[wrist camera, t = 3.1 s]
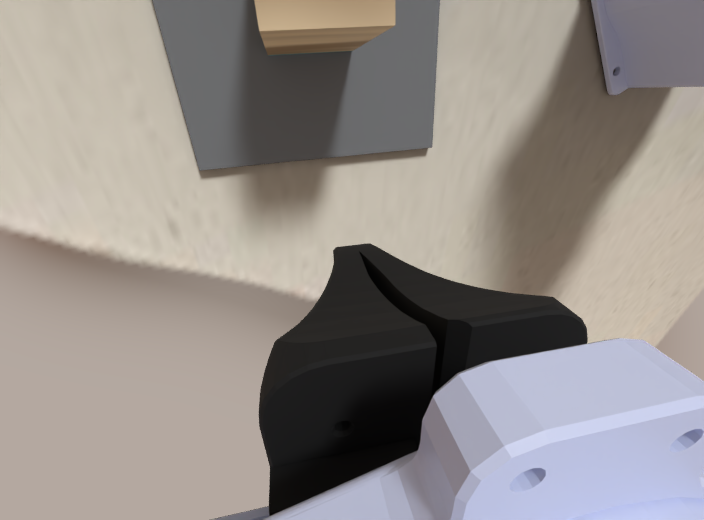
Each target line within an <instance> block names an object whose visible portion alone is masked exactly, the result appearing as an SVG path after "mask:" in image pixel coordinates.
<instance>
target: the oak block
mask: <svg viewBox="0 0 704 520" xmlns="http://www.w3.org/2000/svg"><path fill="white" fill-rule="evenodd" d="M254 1H255V7H256V14H257V20H258V26H259V32H260V34H261V37H262V40H263V43H264V46H265V49H266V52H267V54H268V56H273V55H292V54H311V53H330V52H349V51H353V50H355V49H357V48H358V47H360V46H362V45H363V44H365V43H367V42H368V41H370V40H372V39H373V38H375V37H377V36H379V35H380V34H382V33H384V32H385V31H387V30H389V29H390V28H392V27H394V26H395V0H254Z"/></svg>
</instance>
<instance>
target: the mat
mask: <svg viewBox="0 0 704 520" xmlns="http://www.w3.org/2000/svg"><path fill="white" fill-rule="evenodd" d="M152 1H153V5H154V8H155V12H156V15H157V19H158V23H159V26H160V30H161V34H162V37H163V41H164V44H165V48H166V52H167V55H168V59H169V62H170V66H171V70H172V73H173V77H174V80H175V84H176V88H177V91H178V95H179V98H180V102H181V106H182V109H183V113H184V116H185V120H186V124H187V127H188V131H189V135H190V138H191V142H192V145H193V149H194V153H195V156H196V160H197V163H198V167H199V170H209V169H219V168H229V167H239V166H250V165H260V164H270V163H280V162H290V161H300V160H310V159H321V158H331V157H341V156H351V155H361V154H371V153H381V152H391V151H402V150H412V149H422V148H432V140H433V121H434V102H435V83H436V63H437V44H438V25H439V6H440V0H395V26H394V27H392V28H390V29H389V30H387V31H385V32H384V33H382V34H380V35H379V36H377V37H375V38H373V39H372V40H370V41H368V42H367V43H365V44H363V45H362V46H360V47H358V48H357V49H355V50H353V51H349V52H330V53H311V54H292V55H273V56H268V54H267V52H266V49H265V46H264V43H263V40H262V37H261V34H260V32H259V26H258V20H257V14H256V7H255V1H254V0H152Z"/></svg>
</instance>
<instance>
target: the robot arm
mask: <svg viewBox="0 0 704 520" xmlns="http://www.w3.org/2000/svg"><path fill="white" fill-rule="evenodd" d="M591 3H592V8H593V14H594V19H595V25H596V31H597V36H598V42H599V47H600V53H601V58H602V64H603V69H604V75H605V81H606V86H607V92H608V94H610V95H618V94H620V93H622V92H623V91H624V90H626V89H627V88H646V87H704V0H591ZM614 69H615V72H614V74H613V71H614ZM333 254H334V265H333V269H332V273H331V276H330V278H329V281H328V284H327V286H326V288H325V290H324V292H323V293H322V295H321V297H320V299H319V300H318V301H317V303H316V304H315V306H314V307H313V309H312V310H311V311H310V312H309V313H308V315H307V316H306V317H305V318H304V319H303V320H302V321H301V322H300V323H299V324H298V325H296V326H295V327H294V328H293V329H291V330H290V331H289V332H287V333H286V334H285V335H283V336H282V337H280V338H279V339H277V340H276V341H275V343H274V345H273V348H272V351H271V354H270V356H269V359H268V363H267V366H266V369H265V373H264V377H263V381H262V386H261V393H260V404H259V424H260V425H259V426H260V430H261V434H262V438H263V441H264V446H265V449H266V453H267V457H268V461H269V465H270V490H269V491H270V493H269V506H267V507H263V508H259V509H254V510H250V511H246V512H241V513H237V514H233V515H228V516H224V517H220V518H215V519H211V520H704V381H703V380H701V379H700V378H698V377H697V376H696V375H694V374H693V373H691V372H690V371H688V370H687V369H685V368H684V367H682V366H681V365H679V364H678V363H677V362H675V361H673V360H672V359H671V358H669V357H668V356H666V355H665V354H663V353H662V352H660V351H659V350H657V349H656V348H654V347H653V346H652V345H650V344H649V343H647V342H646V341H644V340H636V339H621V338H618V339H610V340H604V341H599V342H593V343H588V344H587V339H588V338H587V328H586V326H585V324H584V322H583V320H582V319H581V318H580V317H578V316H577V315H576V314H575V313H573V312H572V311H571V310H569V309H568V308H567V307H565V306H564V305H563V304H562V303H560V302H559V301H558V300H556V299H555V298H554V297H547V296H536V295H524V294H514V293H506V292H500V291H494V290H488V289H483V288H478V287H473V286H469V285H465V284H461V283H457V282H454V281H450V280H447V279H444V278H441V277H438V276H435V275H433V274H430V273H427V272H425V271H422V270H420V269H418V268H416V267H414V266H411V265H409V264H407V263H405V262H403V261H401V260H399V259H398V258H396V257H394V256H392V255H390V254H389V253H387V252H385V251H383V250H381V249H380V248H378V247H376V246H374V245H372V244H370V243H369V244H360V245H352V246H343V247H336V248H335V249H334V250H333Z"/></svg>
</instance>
